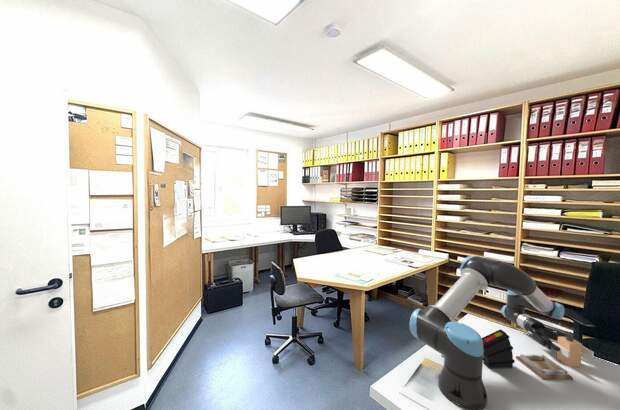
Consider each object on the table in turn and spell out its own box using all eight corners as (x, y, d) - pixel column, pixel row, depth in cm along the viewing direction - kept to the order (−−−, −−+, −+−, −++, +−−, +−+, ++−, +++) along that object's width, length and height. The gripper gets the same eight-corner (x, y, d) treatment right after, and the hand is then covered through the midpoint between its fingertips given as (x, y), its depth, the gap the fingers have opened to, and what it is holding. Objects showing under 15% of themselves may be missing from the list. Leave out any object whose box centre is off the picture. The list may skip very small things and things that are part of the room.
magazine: (521, 365, 99) (508, 333, 98) (493, 378, 99) (479, 347, 98) (513, 358, 103) (500, 328, 102) (486, 371, 103) (473, 341, 102)
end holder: (541, 379, 94) (542, 373, 94) (515, 358, 106) (516, 352, 106) (572, 379, 94) (572, 373, 94) (543, 358, 106) (543, 353, 106)
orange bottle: (568, 366, 101) (570, 336, 101) (556, 358, 106) (558, 330, 106) (580, 366, 101) (582, 336, 101) (567, 358, 106) (569, 330, 106)
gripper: (552, 332, 121) (606, 364, 99) (509, 332, 122) (554, 363, 99) (553, 318, 121) (608, 346, 98) (510, 317, 121) (555, 345, 99)
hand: (580, 354), depth 99 cm, fingers open, 9 cm apart
